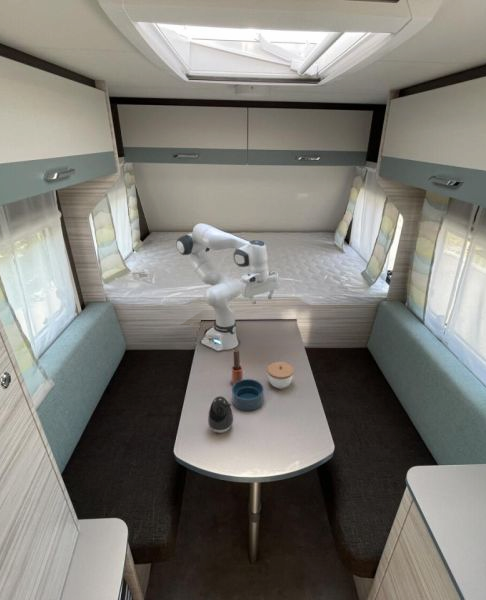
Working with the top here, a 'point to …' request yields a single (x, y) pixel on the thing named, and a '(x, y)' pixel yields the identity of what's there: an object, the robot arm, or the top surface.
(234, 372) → the pot
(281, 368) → the lidded bowl
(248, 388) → the mixing bowl
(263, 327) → the top surface
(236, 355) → the stirring stick
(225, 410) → the black rounded egg shape
